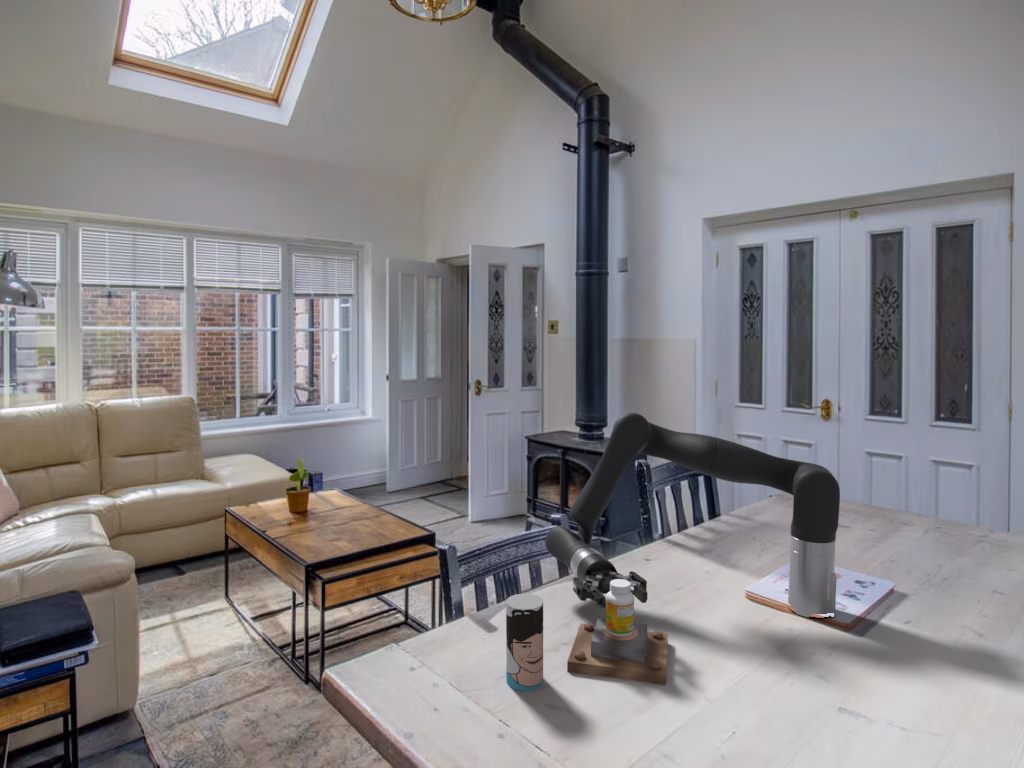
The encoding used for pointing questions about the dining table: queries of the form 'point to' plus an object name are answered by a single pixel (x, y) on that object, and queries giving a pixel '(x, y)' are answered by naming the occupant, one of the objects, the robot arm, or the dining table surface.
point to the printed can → (524, 642)
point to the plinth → (620, 666)
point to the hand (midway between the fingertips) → (624, 600)
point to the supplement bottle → (620, 609)
